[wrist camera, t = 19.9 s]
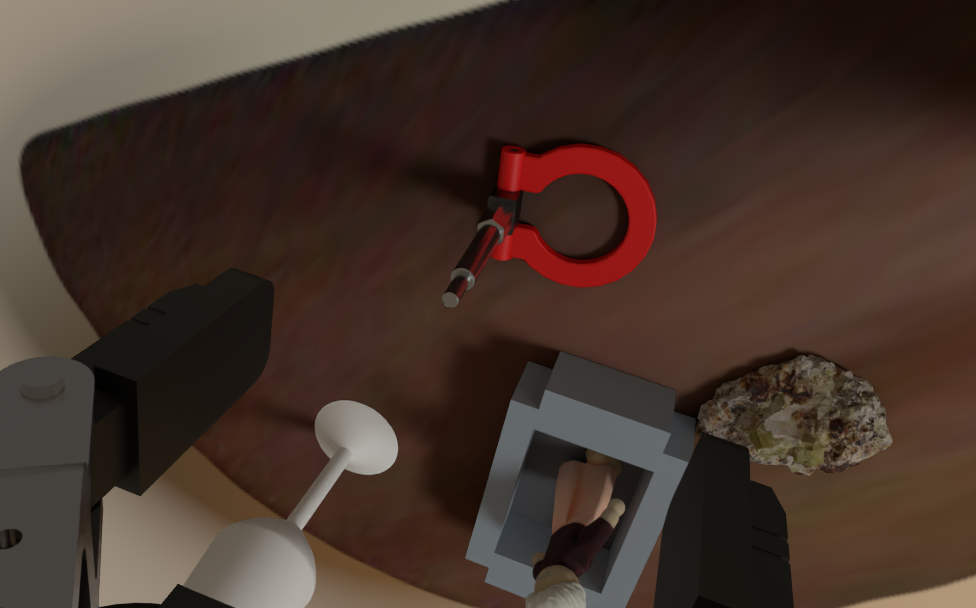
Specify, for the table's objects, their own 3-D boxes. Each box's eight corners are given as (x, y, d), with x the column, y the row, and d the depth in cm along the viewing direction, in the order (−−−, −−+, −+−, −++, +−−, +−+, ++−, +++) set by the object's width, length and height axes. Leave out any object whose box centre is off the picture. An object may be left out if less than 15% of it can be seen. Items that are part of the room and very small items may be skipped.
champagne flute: (313, 390, 55) (65, 674, 35) (400, 412, 54) (195, 721, 33) (315, 462, 59) (89, 760, 38) (397, 484, 57) (208, 806, 37)
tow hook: (672, 155, 41) (505, 126, 43) (664, 252, 30) (439, 208, 31) (640, 291, 45) (489, 261, 47) (623, 420, 34) (426, 375, 36)
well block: (704, 400, 47) (701, 444, 43) (621, 582, 55) (613, 632, 51) (533, 342, 48) (516, 379, 44) (479, 527, 57) (461, 572, 53)
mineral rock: (889, 357, 40) (900, 500, 41) (880, 338, 44) (891, 469, 45) (681, 368, 44) (697, 498, 45) (690, 350, 48) (704, 470, 49)
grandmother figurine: (593, 420, 49) (553, 565, 38) (643, 451, 49) (618, 605, 38) (535, 491, 53) (484, 641, 42) (582, 521, 53) (544, 678, 42)
